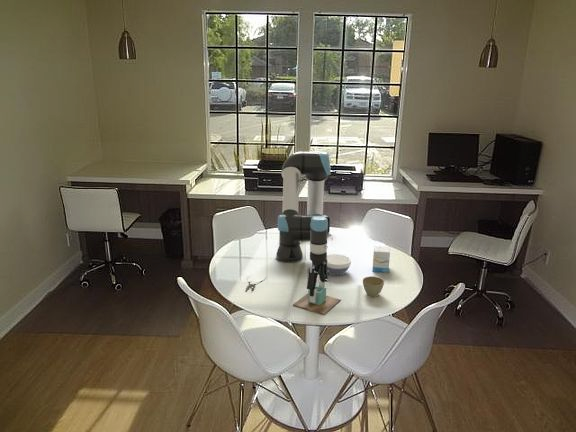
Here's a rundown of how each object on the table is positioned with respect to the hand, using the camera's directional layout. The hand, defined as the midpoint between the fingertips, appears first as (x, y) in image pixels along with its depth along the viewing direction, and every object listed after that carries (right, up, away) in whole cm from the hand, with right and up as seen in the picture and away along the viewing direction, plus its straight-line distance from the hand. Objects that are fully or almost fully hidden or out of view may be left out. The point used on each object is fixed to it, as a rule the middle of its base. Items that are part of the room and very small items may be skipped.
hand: (317, 298), depth 205 cm
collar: (0, -1, 0) cm, 1 cm away
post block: (0, -2, +1) cm, 2 cm away
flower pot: (+27, 0, +9) cm, 29 cm away
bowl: (+12, +7, +34) cm, 37 cm away
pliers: (-29, +3, +21) cm, 36 cm away
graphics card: (-1, +24, +90) cm, 93 cm away
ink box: (+37, +9, +39) cm, 54 cm away
